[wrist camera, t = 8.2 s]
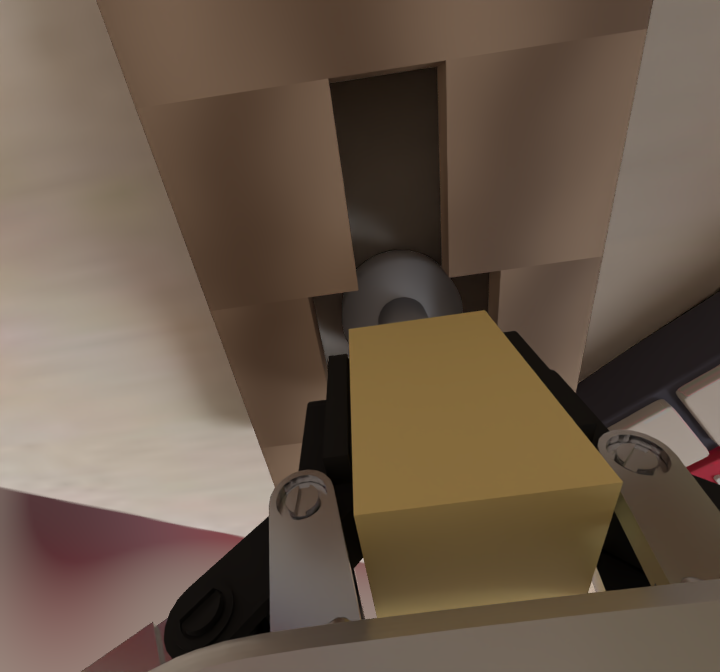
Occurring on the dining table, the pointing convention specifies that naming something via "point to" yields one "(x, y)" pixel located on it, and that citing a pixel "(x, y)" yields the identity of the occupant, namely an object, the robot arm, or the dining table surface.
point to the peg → (461, 453)
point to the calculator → (668, 389)
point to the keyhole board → (324, 173)
